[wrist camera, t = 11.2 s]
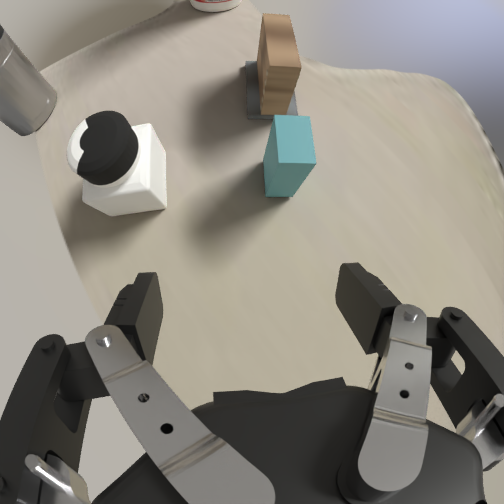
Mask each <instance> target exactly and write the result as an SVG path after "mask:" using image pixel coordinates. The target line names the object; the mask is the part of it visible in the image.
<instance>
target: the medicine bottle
mask: <svg viewBox="0 0 504 504" xmlns="http://www.w3.org/2000/svg"><path fill="white" fill-rule="evenodd" d="M67 161H68V164H69V166H70V168H71V169H72V170H73V171H74V172H75V173H76V174H78V175H79V176H81V177H82V178H83V191H82V201H83V202H84V203H86V204H88V205H90V206H91V207H93V208H95V209H97V210H99V211H101V212H103V213H105V214H107V215H109V216H118V215H125V214H132V213H138V212H145V211H153V210H160V209H165V208H166V207H167V198H166V152H165V150H164V148H163V146H162V144H161V143H160V141H159V139H158V137H157V135H156V133H155V131H154V129H153V127H152V125H151V124H149V123H147V124H142V125H137V126H132V127H131V126H130V124H129V123H128V121H127V120H126V118H125V117H124V116H123V115H122V114H120V113H118V112H115V111H102V112H99V113H96V114H93V115H91V116H89V117H88V118H86V119H85V120H84V121H83V122H82V123H81V124H80V125H79V126H78V127H77V128H76V129H75V131H74V132H73V134H72V136H71V138H70V140H69V143H68V148H67Z"/></svg>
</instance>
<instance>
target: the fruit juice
mask: <svg viewBox="0 0 504 504" xmlns="http://www.w3.org/2000/svg"><path fill="white" fill-rule="evenodd" d="M190 2H191V4H192V6H193V7H194V8H196V9H198V10H201V11H206V12H219V11H226V10H229V9H232V8H235V7H237V6H238V5H239V4H240V3H241V2H242V0H190Z"/></svg>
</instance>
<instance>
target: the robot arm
mask: <svg viewBox="0 0 504 504" xmlns="http://www.w3.org/2000/svg"><path fill="white" fill-rule="evenodd" d="M56 99H57V94H56V91H55V90H54V89H53V88H52V87H51V85H50V84H49V83H48V82H47V81H46V80H45V78H44V77H43V76H42V75H41V74H40V72H39V71H38V70H37V69H36V68H35V67H34V65H33V64H32V63H31V62H30V61H29V59H28V58H27V57H26V56H25V55H24V53H23V52H22V51H21V50H20V49H19V47H18V46H17V45H16V44H15V43H14V41H13V40H12V39H11V38H10V36H9V35H8V34H7V33H6V31H5V30H4V29H3V28H2V26H1V25H0V121H2V122H3V123H4V124H5V125H7V126H8V127H9V128H11V129H12V130H14V131H15V132H16V133H18V134H19V135H21V136H26V135H29V134H31V133H33V132H34V131H36V130H37V129H38V128H39V127H40V126H41V125H42V124H43V123H44V122H45V121H46V120H47V118H48V117H49V116H50V114H51V112H52V111H53V108H54V106H55V103H56ZM335 298H336V304H337V307H338V308H339V310H340V312H341V313H342V315H343V316H344V318H345V320H346V321H347V323H348V325H349V326H350V328H351V330H352V331H353V333H354V335H355V336H356V338H357V340H358V341H359V343H360V345H361V346H362V348H363V350H364V351H365V353H366V355H367V354H372V353H376V352H377V353H378V357H377V360H376V362H375V366H374V369H373V373H372V376H371V379H370V383H369V386H368V389H365V388H361V387H356V386H346V384H345V382H344V379H343V377H340V378H335V379H329V380H324V381H318V382H313V383H310V384H308V385H305V386H302V387H300V388H297V389H294V390H291V391H289V392H286V393H268V392H258V391H249V390H243V391H226V392H213V397H214V401H213V402H209V403H206V404H203V405H200V406H198V407H196V408H194V409H192V410H191V411H190V410H189V409H188V408H187V406H186V405H185V404H184V403H183V402H182V401H181V400H180V399H179V398H178V396H177V395H176V394H175V393H174V392H173V391H172V389H171V388H170V387H169V386H168V385H167V384H166V382H165V381H164V380H163V379H162V378H161V376H160V375H159V374H158V373H157V371H156V370H155V369H154V368H153V366H152V364H153V359H154V354H155V350H156V345H157V340H158V336H159V331H160V327H161V323H162V318H163V303H162V298H161V292H160V287H159V281H158V276H157V273H156V272H147V273H138V275H137V277H136V279H135V281H134V284H128V285H127V286H125V287H124V288H123V289H122V290H121V291H120V292H119V294H118V296H117V298H116V300H115V302H114V304H113V306H112V308H111V310H110V313H109V315H108V317H107V319H106V321H105V323H104V325H102V326H99V327H96V328H94V329H93V330H91V331H90V332H89V333H88V335H87V336H86V338H85V342H80V343H75V344H69V345H66V343H65V341H64V339H63V337H61V336H60V335H57V334H52V335H47V336H45V337H43V338H41V339H39V341H37V342H36V344H35V345H34V347H33V349H32V351H31V353H30V354H29V356H28V358H27V360H26V362H25V365H24V366H23V368H22V370H21V372H20V375H19V377H18V379H17V381H16V383H15V385H14V388H13V390H12V392H11V395H10V397H9V399H8V402H7V404H6V407H5V409H4V412H3V415H2V417H1V420H0V504H91V502H90V501H89V497H88V490H87V485H86V482H85V481H84V479H83V478H82V477H81V476H80V475H79V474H78V468H79V462H80V455H81V449H82V443H83V438H84V433H85V428H86V423H87V418H88V414H89V410H90V405H91V401H92V399H94V398H99V397H105V396H111V397H112V399H113V401H114V402H115V404H116V405H117V407H118V409H119V411H120V413H121V414H122V416H123V417H124V419H125V421H126V422H127V424H128V425H129V427H130V429H131V430H132V432H133V433H134V435H135V436H136V438H137V439H138V440H139V442H140V443H141V445H142V446H143V448H144V449H145V451H146V453H145V454H143V455H142V456H141V457H140V458H139V459H138V460H137V461H136V462H135V463H134V464H133V465H132V466H131V467H130V468H129V469H127V471H125V472H124V473H123V474H122V475H121V476H120V477H119V478H118V479H117V480H115V481H114V482H113V483H112V484H111V485H110V486H109V487H107V488H106V489H105V490H104V491H103V492H102V493H101V494H100V495H98V496H97V497H96V498H95V499H94V501H93V502H92V504H487V502H486V500H485V495H484V488H483V471H488V470H490V469H491V468H492V467H494V466H495V465H496V464H498V463H499V462H500V461H501V460H503V459H504V357H503V355H502V354H501V353H500V352H499V351H498V349H497V348H496V347H495V346H494V345H493V343H492V342H491V341H490V340H489V339H488V338H487V336H486V335H485V334H484V333H483V332H482V331H481V330H480V329H479V327H478V326H477V325H476V324H475V323H474V322H473V321H472V320H471V319H470V318H469V317H468V315H467V314H466V313H465V312H463V311H462V310H460V309H458V308H455V307H445V308H444V309H443V310H442V312H441V315H440V317H439V318H436V317H426V314H425V313H424V312H423V311H422V310H421V309H420V308H418V307H416V306H414V305H410V304H402V303H401V302H400V301H399V300H398V299H397V298H396V297H395V295H394V294H393V293H392V292H391V291H390V290H388V288H387V287H386V286H385V285H383V283H382V281H381V280H380V279H379V278H378V277H376V276H374V275H373V274H371V273H369V272H367V271H366V270H365V269H364V268H363V267H362V266H361V265H360V264H359V263H343V264H342V265H341V267H340V271H339V277H338V283H337V289H336V295H335ZM456 350H457V351H458V353H459V354H460V355H461V357H462V358H463V360H464V361H465V371H464V373H463V374H462V375H461V373H460V372H459V370H458V369H457V367H456V366H455V365H454V363H453V362H452V360H451V358H452V356H453V354H454V352H455V351H456ZM430 384H431V386H432V387H433V389H434V391H435V392H436V394H437V396H438V398H439V399H440V401H441V403H442V405H443V406H444V408H445V410H446V412H447V414H448V415H449V417H450V419H451V421H452V423H453V425H454V427H455V428H456V433H454V432H452V431H450V430H448V429H446V428H444V427H442V426H440V425H438V424H435V423H433V422H431V421H429V420H427V419H426V415H427V407H428V399H429V389H430Z"/></svg>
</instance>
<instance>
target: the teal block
mask: <svg viewBox="0 0 504 504" xmlns="http://www.w3.org/2000/svg"><path fill="white" fill-rule="evenodd" d="M263 164H264V180H265V197H293V195H294V194H295V193H296V191H297V190H298V188H299V187H300V186H301V184H302V183H303V181H304V180H305V179H306V177H307V176H308V174H309V173H310V172H311V170H312V169H313V168H314V166H315V165H316V158H315V150H314V143H313V136H312V129H311V122H310V116H293V115H274V119H273V123H272V127H271V131H270V134H269V138H268V142H267V146H266V150H265V154H264V158H263Z"/></svg>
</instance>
